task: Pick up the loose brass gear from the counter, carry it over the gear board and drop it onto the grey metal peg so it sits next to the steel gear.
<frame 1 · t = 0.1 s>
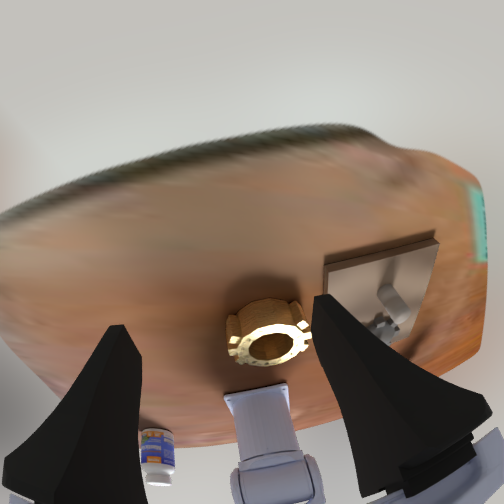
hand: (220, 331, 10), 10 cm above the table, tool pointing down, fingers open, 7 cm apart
gear board: (375, 306, 27), on the table
gear: (264, 321, 25), on the table
pill bottle: (157, 431, 37), on the table
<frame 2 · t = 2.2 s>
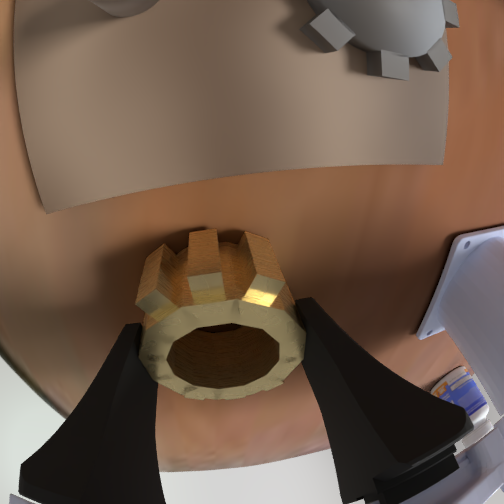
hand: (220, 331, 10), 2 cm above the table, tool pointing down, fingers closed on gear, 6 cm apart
gear: (217, 302, 11), on the table, touching gripper
pill bottle: (446, 377, 25), on the table
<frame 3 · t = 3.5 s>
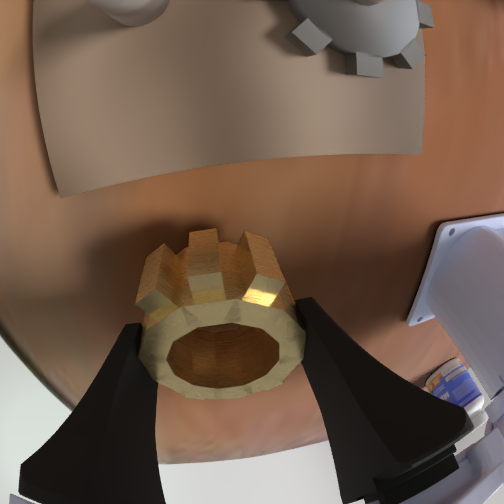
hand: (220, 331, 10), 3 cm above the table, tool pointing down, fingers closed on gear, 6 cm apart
gear: (217, 302, 11), point 1 cm above the table, touching gripper
pill bottle: (441, 369, 26), on the table
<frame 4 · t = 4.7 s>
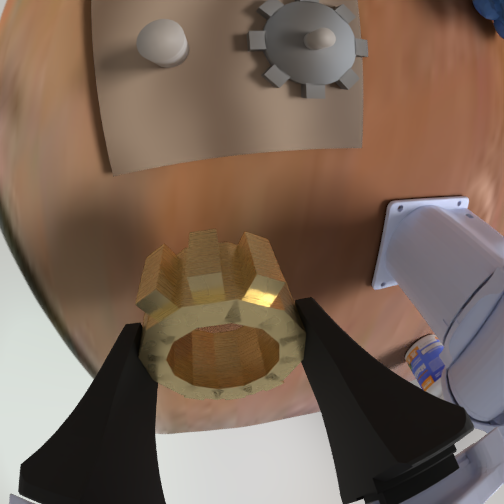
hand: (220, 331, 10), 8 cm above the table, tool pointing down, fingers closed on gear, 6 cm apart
gear board: (230, 46, 11), on the table
gear: (217, 302, 11), point 7 cm above the table, touching gripper
grapes: (474, 14, 10), on the table
pill bottle: (419, 345, 32), on the table
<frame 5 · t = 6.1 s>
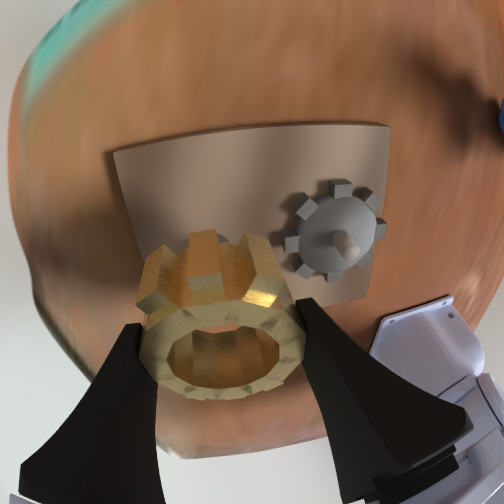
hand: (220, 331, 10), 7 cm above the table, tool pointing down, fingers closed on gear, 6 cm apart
gear board: (265, 231, 16), on the table
gear: (217, 302, 11), point 5 cm above the table, touching gripper
grapes: (496, 128, 14), on the table
when the fingers open (4 cm above the table, at t = 7.3 s): gear stays where it is, resting on gear board.
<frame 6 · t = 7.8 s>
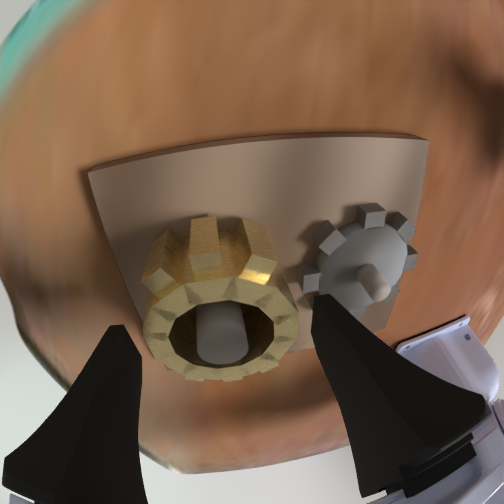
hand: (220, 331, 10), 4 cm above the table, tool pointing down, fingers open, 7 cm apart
gear board: (278, 263, 13), on the table
gear: (216, 286, 12), point 1 cm above the table, touching gear board
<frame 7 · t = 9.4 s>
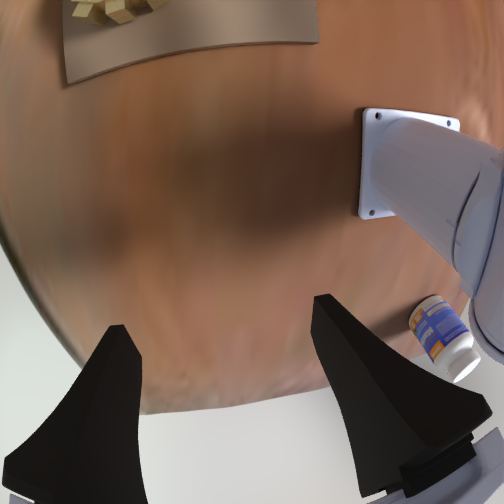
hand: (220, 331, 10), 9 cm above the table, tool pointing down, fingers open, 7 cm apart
pill bottle: (424, 309, 28), on the table
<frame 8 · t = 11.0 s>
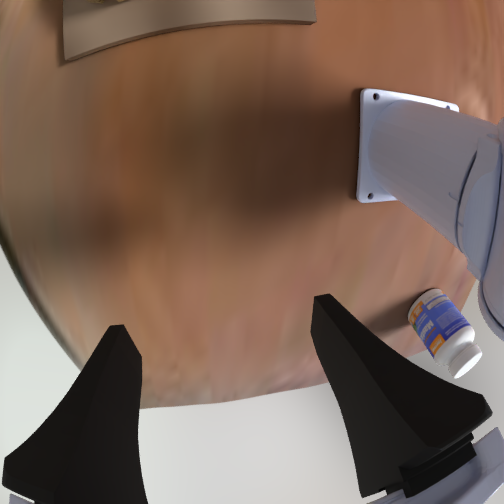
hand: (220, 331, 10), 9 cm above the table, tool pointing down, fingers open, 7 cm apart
pill bottle: (423, 303, 28), on the table
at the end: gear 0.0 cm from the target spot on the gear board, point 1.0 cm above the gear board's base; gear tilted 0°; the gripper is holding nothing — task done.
